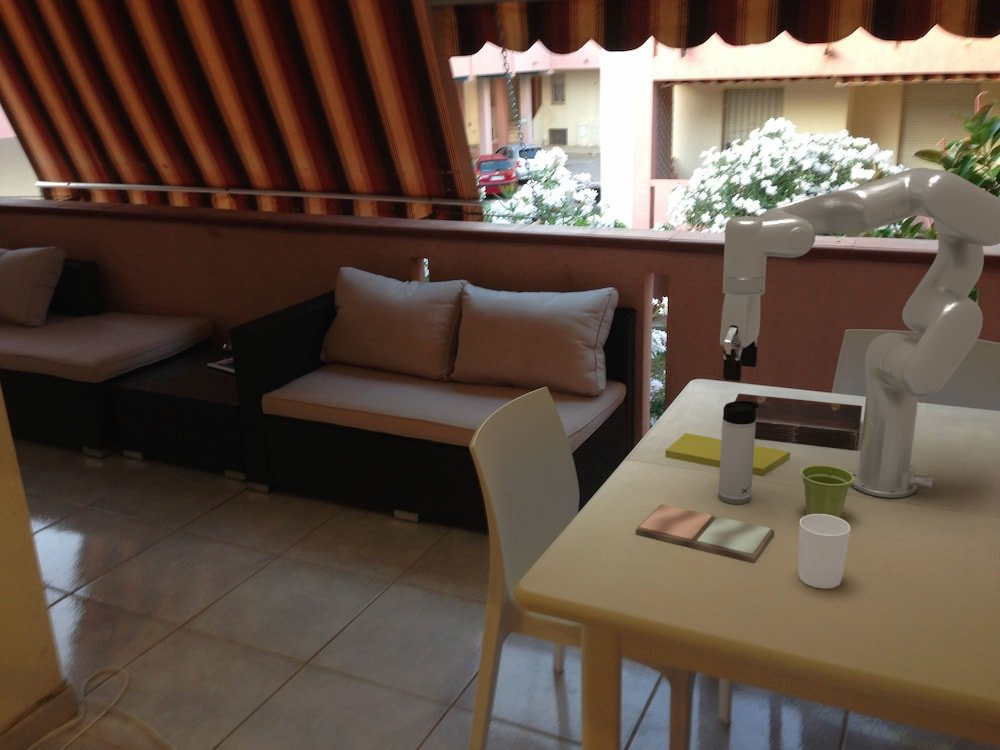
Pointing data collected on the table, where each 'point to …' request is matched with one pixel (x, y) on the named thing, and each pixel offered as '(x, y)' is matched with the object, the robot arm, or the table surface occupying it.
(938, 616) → the table surface
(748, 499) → the travel mug
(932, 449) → the table surface
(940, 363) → the robot arm
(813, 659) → the table surface
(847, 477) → the plant pot
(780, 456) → the flat olive board
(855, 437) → the hardback book
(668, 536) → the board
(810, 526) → the white cup
